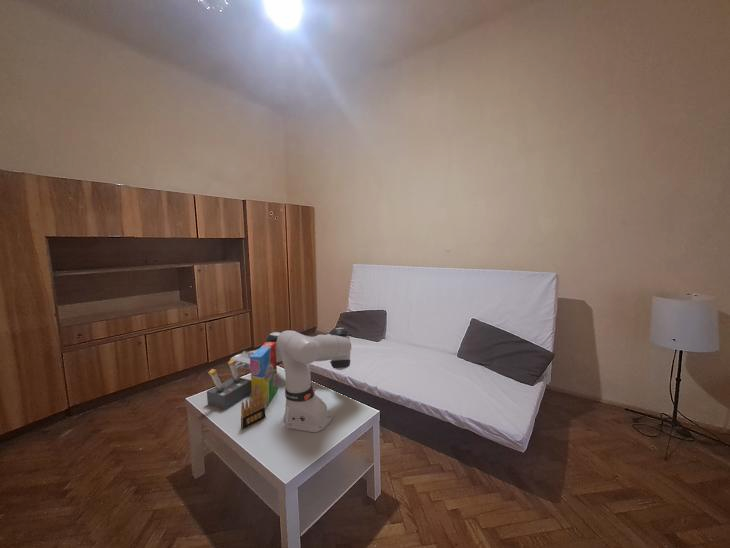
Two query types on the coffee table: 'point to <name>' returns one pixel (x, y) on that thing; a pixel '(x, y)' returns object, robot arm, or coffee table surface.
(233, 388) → the switch box
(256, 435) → the coffee table surface
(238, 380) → the lever
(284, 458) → the coffee table surface
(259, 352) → the game box
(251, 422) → the ammunition clip
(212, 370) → the lever
